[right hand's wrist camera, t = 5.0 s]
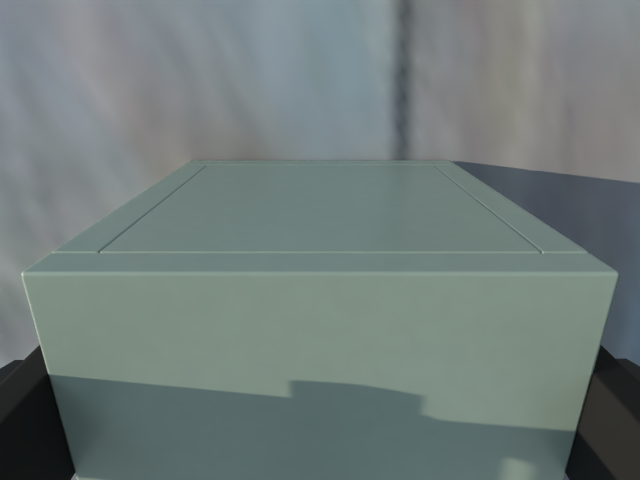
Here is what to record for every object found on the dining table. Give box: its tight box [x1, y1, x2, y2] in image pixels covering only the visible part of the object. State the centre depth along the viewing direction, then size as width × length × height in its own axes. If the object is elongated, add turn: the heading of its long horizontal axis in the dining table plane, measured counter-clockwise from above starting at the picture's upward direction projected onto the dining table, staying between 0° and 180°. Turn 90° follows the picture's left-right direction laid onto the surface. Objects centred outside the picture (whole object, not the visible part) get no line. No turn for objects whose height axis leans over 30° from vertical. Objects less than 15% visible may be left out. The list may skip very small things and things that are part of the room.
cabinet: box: [21, 160, 619, 480], centre depth 17 cm, size 21×11×11 cm, turn 0°
